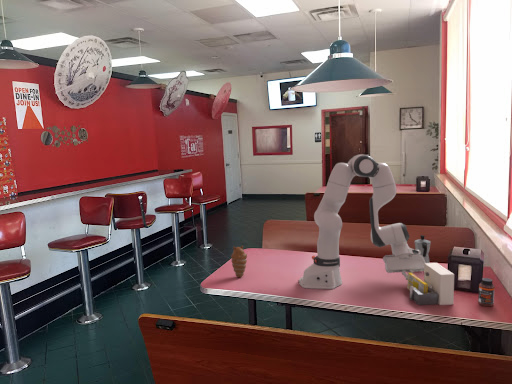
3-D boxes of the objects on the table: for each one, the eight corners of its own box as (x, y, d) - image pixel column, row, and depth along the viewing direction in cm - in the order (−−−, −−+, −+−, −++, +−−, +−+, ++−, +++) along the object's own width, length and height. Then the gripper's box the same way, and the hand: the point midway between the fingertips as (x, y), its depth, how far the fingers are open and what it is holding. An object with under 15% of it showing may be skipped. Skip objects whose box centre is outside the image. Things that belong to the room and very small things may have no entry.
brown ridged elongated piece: (233, 280, 214) (231, 248, 211) (231, 275, 221) (229, 245, 219) (248, 278, 215) (247, 247, 213) (246, 274, 223) (244, 243, 220)
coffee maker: (411, 262, 232) (412, 232, 229) (427, 262, 230) (428, 232, 228) (416, 270, 217) (417, 239, 215) (433, 270, 216) (434, 239, 213)
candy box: (427, 301, 177) (428, 284, 176) (423, 301, 177) (423, 284, 176) (411, 288, 193) (411, 272, 192) (406, 288, 193) (407, 272, 192)
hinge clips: (415, 305, 174) (416, 292, 173) (408, 297, 182) (408, 285, 181) (439, 304, 174) (440, 291, 173) (430, 296, 182) (431, 284, 182)
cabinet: (438, 305, 173) (438, 274, 171) (422, 291, 189) (422, 263, 187) (453, 304, 173) (454, 274, 171) (436, 290, 189) (436, 262, 187)
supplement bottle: (479, 305, 171) (480, 281, 169) (477, 300, 176) (478, 276, 175) (495, 307, 169) (496, 282, 167) (492, 301, 174) (493, 277, 173)
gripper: (383, 252, 199) (390, 277, 190) (423, 250, 199) (431, 275, 191) (380, 258, 204) (387, 282, 196) (419, 256, 204) (427, 281, 196)
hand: (409, 279), depth 193 cm, fingers closed, pressing on candy box
